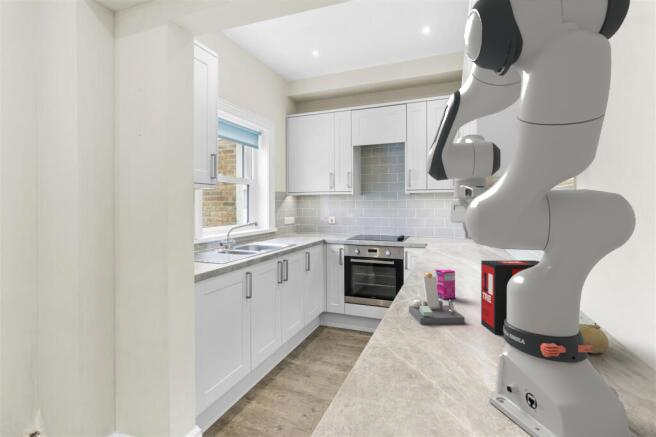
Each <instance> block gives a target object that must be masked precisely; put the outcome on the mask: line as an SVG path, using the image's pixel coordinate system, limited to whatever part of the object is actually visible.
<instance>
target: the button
mask: <svg viewBox="0 0 656 437" xmlns="http://www.w3.org/2000/svg"><path fill="white" fill-rule="evenodd" d="M412 303H413V305H412V306H413V307H416V308H420V306H423V305H422V304H423V301H422V300H421V299H413V302H412Z"/></svg>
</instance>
